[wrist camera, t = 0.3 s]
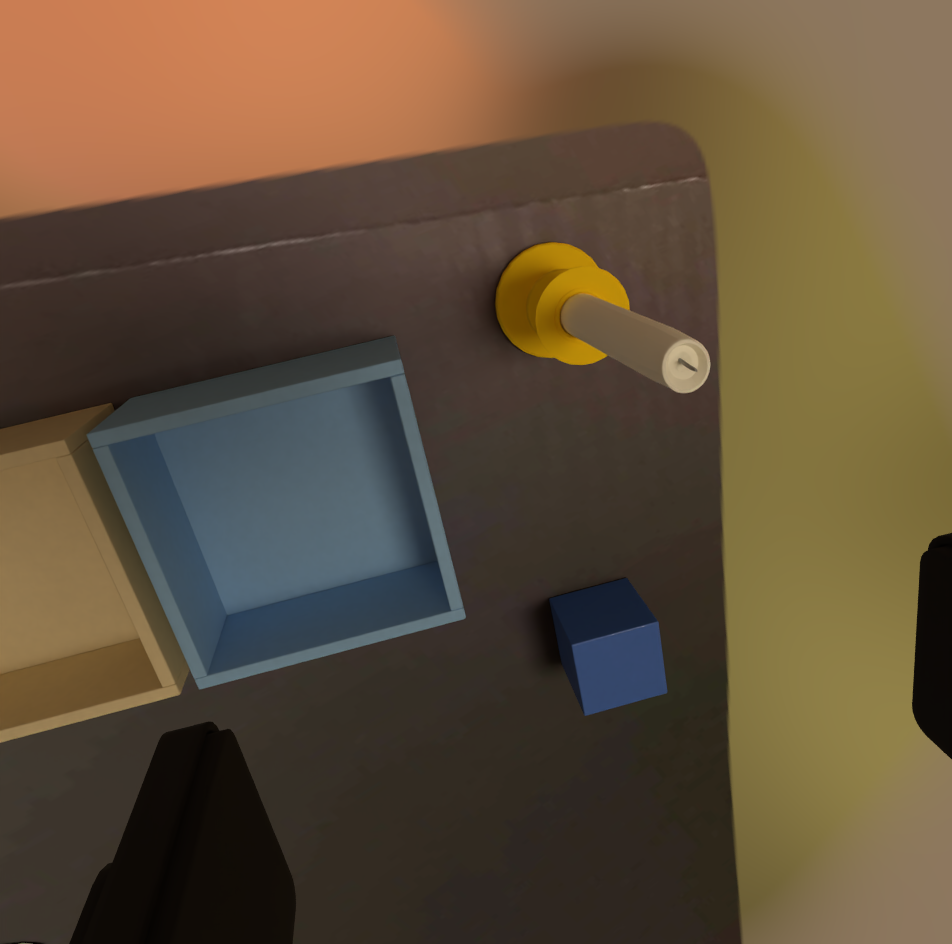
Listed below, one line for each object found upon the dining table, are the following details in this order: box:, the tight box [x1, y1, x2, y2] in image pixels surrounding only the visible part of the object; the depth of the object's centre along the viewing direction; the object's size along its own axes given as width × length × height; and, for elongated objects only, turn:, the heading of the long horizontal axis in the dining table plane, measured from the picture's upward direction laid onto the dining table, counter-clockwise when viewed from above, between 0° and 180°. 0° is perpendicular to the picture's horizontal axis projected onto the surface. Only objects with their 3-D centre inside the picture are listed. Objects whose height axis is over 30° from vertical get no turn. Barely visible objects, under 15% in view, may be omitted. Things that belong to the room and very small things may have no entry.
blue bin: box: [87, 336, 466, 689], centre depth 32 cm, size 12×12×6 cm
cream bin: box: [0, 403, 190, 743], centre depth 31 cm, size 12×12×6 cm
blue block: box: [549, 578, 667, 716], centre depth 38 cm, size 4×4×4 cm
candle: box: [495, 242, 710, 393], centre depth 26 cm, size 5×5×16 cm
